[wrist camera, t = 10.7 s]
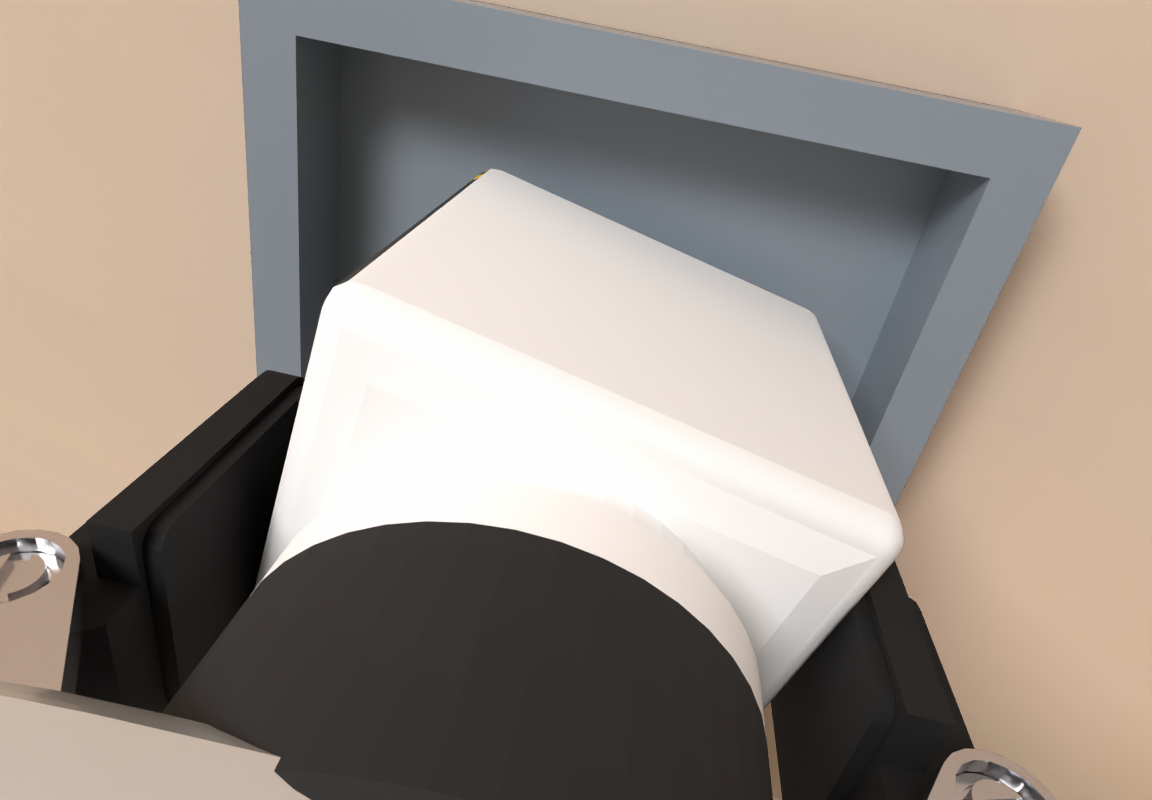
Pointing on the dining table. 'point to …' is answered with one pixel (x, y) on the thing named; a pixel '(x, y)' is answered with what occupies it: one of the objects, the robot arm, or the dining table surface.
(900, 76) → the dining table surface
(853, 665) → the robot arm
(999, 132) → the tray
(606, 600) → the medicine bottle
